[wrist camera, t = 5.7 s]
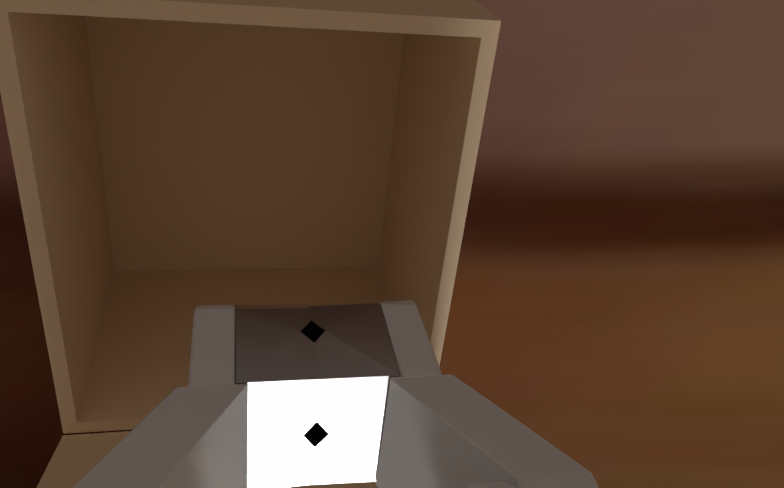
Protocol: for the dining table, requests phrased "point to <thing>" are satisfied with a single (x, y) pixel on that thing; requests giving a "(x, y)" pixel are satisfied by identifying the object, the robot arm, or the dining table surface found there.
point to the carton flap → (90, 449)
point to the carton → (233, 170)
